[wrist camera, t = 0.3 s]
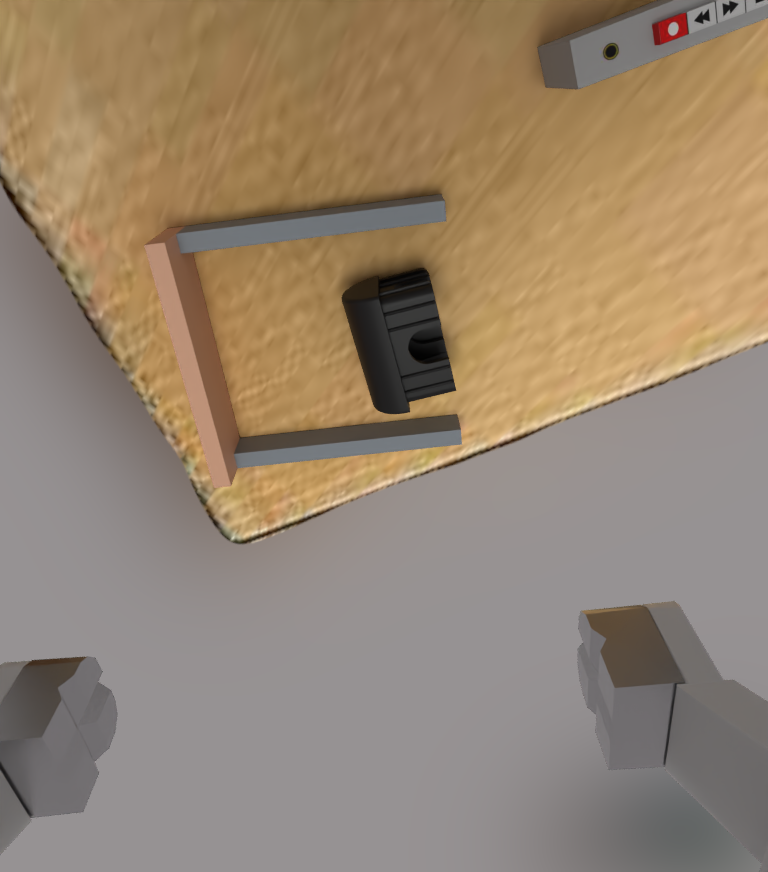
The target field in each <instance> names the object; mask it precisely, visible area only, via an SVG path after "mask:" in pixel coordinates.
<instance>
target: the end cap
mask: <svg viewBox="0 0 768 872" xmlns="http://www.w3.org/2000/svg"><path fill="white" fill-rule="evenodd" d="M342 302H343V306H344V309H345V312H346V316H347V319H348V322H349V326H350V329H351V332H352V335H353V339H354V342H355V345H356V349H357V352H358V355H359V359H360V362H361V365H362V369H363V372H364V375H365V379H366V382H367V385H368V389H369V392H370V395H371V398H372V402H373V405H374V407H375V408H376V409H377V410H378V411H380V412H383V413H387V414H402V413H408V412H410V407H409V402H411V401H415V400H419V399H423V398H427V397H431V396H435V395H440V394H444V393H448V392H452V391H456V388H455V384H454V379H453V375H452V371H451V366H450V362H449V358H448V355H447V351H446V347H445V342H444V338H443V334H442V330H441V326H440V325H441V323H440V319H439V314H438V310H437V306H436V301H435V297H434V293H433V289H432V284H431V281H430V277H429V273H428V272H427V270H425V269H424V268H420V269H416V270H412V271H408V272H405V273H401V274H397V275H393V276H389V277H386V278H382V279H379V277H378V276H377V277H373V278H370V279H367V280H365V281H362V282H360V283H358V284H356V285H354V286H352V287H350V288H349V289H348V290H346V291H345V292H344V293H343V295H342Z"/></svg>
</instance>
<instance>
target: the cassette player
mask: <svg viewBox="0 0 768 872" xmlns="http://www.w3.org/2000/svg"><path fill="white" fill-rule="evenodd" d="M766 18H768V0H657V1H654V2H652V3H649V4H647V5H644V6H642V7H639V8H636V9H634V10H631V11H629V12H626V13H624V14H621V15H618V16H616V17H613V18H611V19H608V20H606V21H603V22H601V23H598V24H595V25H593V26H590V27H588V28H585V29H583V30H580V31H577V32H575V33H572V34H570V35H567V36H565V37H562V38H560V39H557V40H554V41H552V42H549V43H547V44H544V45H542V46H539V47H538V52H539V57H540V62H541V67H542V72H543V77H544V82H545V87H546V88H564V89H580V88H583V87H586V86H588V85H591V84H594V83H596V82H599V81H602V80H604V79H607V78H610V77H612V76H615V75H618V74H620V73H623V72H626V71H628V70H631V69H634V68H636V67H639V66H641V65H644V64H647V63H649V62H652V61H655V60H657V59H660V58H663V57H665V56H668V55H671V54H673V53H676V52H679V51H681V50H684V49H687V48H689V47H692V46H695V45H697V44H700V43H703V42H705V41H708V40H711V39H713V38H716V37H718V36H721V35H724V34H726V33H729V32H732V31H734V30H737V29H740V28H742V27H745V26H748V25H750V24H753V23H756V22H758V21H761V20H764V19H766Z"/></svg>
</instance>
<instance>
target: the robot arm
mask: <svg viewBox="0 0 768 872" xmlns="http://www.w3.org/2000/svg"><path fill="white" fill-rule="evenodd" d="M578 629H579V632H580V634H581V637H582V640H583V643H582V644H581V645H580V646H579V648H578V670H579V679H580V684H581V688H582V692H583V696H584V699H585V701H586V705H587V707H588V708H589V709H590V710H591V711H592V712H594V713H595V714H596V735H597V738H598V740H599V743H600V746H601V749H602V752H603V755H604V758H605V761H606V764H607V767H608V769H609V770H617V769H636V768H655V767H665V771H666V772H667V773H669V774H670V775H671V776H672V777H673V778H674V779H675V780H676V781H677V782H678V783H679V784H680V785H681V786H682V787H683V788H684V789H685V790H686V791H687V792H688V793H689V794H690V795H691V796H692V797H693V798H694V799H695V800H696V801H697V802H699V803H700V804H701V805H702V806H703V807H704V808H705V809H706V810H707V811H708V812H709V813H710V814H711V815H712V816H713V817H714V818H715V819H716V820H717V821H718V822H719V823H720V824H721V825H722V826H723V827H724V828H725V829H726V830H728V831H729V832H730V833H731V834H732V835H733V836H734V837H735V838H736V839H737V840H738V841H739V842H740V843H741V844H742V845H743V846H744V847H745V848H746V849H747V850H748V851H749V852H750V853H751V854H752V855H753V856H754V857H755V858H756V859H758V861H760V862H761V863H762V864H761V868H760V871H759V872H768V702H767V701H766V700H764V699H763V698H761V697H760V696H758V695H757V694H755V693H753V692H752V691H750V690H749V689H747V688H746V687H744V686H742V685H741V684H739V683H738V682H736V681H735V680H723V678H722V676H721V675H720V673H719V671H718V670H717V668H716V666H715V665H714V663H713V661H712V659H711V658H710V656H709V654H708V653H707V651H706V649H705V648H704V646H703V644H702V643H701V641H700V639H699V637H698V636H697V634H696V632H695V631H694V629H693V627H692V625H691V624H690V622H689V620H688V619H687V617H686V615H685V614H684V612H683V610H682V608H681V607H680V605H679V604H677V603H676V602H674V601H672V602H662V603H652V604H643V605H633V606H624V607H614V608H604V609H594V610H584V611H581V612H580V615H579V626H578ZM102 672H103V671H102V670H101V668H100V666H99V664H98V662H97V660H96V658H93V657H73V658H58V659H43V660H32V661H21V662H7V663H6V662H5V663H3V664H1V665H0V855H1V854H2V853H3V851H4V850H5V849H6V848H7V847H8V846H9V845H10V844H11V843H12V841H13V840H14V839H15V838H16V837H17V836H18V835H19V834H20V833H21V832H22V831H23V830H24V829H25V827H26V826H27V825H28V824H29V823H30V822H31V818H34V817H42V816H52V815H61V814H70V813H79V812H83V811H84V809H85V806H86V804H87V801H88V799H89V797H90V794H91V791H92V789H93V787H94V784H95V782H96V779H97V777H98V775H99V771H98V769H97V766H96V763H95V761H96V760H97V759H98V758H99V757H100V756H101V755H102V754H103V753H104V752H105V751H106V750H108V749H109V747H110V744H111V742H112V739H113V736H114V734H115V730H116V721H117V708H116V702H115V699H114V696H113V694H112V691H111V690H110V689H108V688H107V687H105V686H104V685H102V684H101V683H99V682H98V681H99V678H100V676H101V674H102Z"/></svg>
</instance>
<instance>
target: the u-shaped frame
mask: <svg viewBox="0 0 768 872" xmlns="http://www.w3.org/2000/svg"><path fill="white" fill-rule="evenodd" d="M443 221H446V211H445V200H444V198H443V196H442V195H441V194H439V195H431V196H423V197H415V198H407V199H399V200H391V201H383V202H375V203H367V204H359V205H351V206H343V207H335V208H327V209H319V210H311V211H303V212H295V213H287V214H279V215H271V216H263V217H255V218H247V219H239V220H231V221H223V222H215V223H207V224H199V225H191V226H183V227H175V228H167V229H166V230H165V231H163V232H162V233H160V234H159V235H158V236H156V237H155V238H153V239H152V240H151V241H149V242H148V243H147V244H145V245H144V246H145V250H146V253H147V257H148V260H149V264H150V267H151V270H152V274H153V277H154V281H155V284H156V288H157V291H158V295H159V298H160V302H161V305H162V309H163V312H164V316H165V319H166V323H167V326H168V329H169V333H170V336H171V340H172V343H173V347H174V350H175V354H176V357H177V361H178V364H179V368H180V371H181V375H182V378H183V381H184V385H185V388H186V392H187V395H188V399H189V402H190V406H191V409H192V413H193V416H194V420H195V423H196V427H197V430H198V434H199V437H200V440H201V444H202V447H203V451H204V454H205V458H206V461H207V465H208V468H209V472H210V475H211V479H212V482H213V486H214V488H217V487H227V486H231V485H232V482H233V479H234V476H235V474H236V471H237V468H243V467H253V466H262V465H272V464H281V463H290V462H300V461H309V460H319V459H328V458H337V457H347V456H356V455H366V454H375V453H384V452H394V451H403V450H413V449H422V448H432V447H441V446H450V445H460V444H462V441H461V429H460V424H459V420H458V416H457V414H456V415H447V416H438V417H429V418H420V419H410V420H401V421H392V422H383V423H373V424H364V425H355V426H346V427H337V428H327V429H318V430H309V431H300V432H291V433H281V434H272V435H263V436H254V437H244V438H240V437H239V433H238V429H237V425H236V421H235V417H234V413H233V409H232V405H231V401H230V397H229V393H228V390H227V386H226V382H225V378H224V374H223V370H222V366H221V362H220V358H219V354H218V350H217V346H216V342H215V338H214V335H213V331H212V327H211V323H210V319H209V315H208V311H207V307H206V303H205V299H204V295H203V291H202V287H201V284H200V280H199V276H198V272H197V268H196V264H195V260H194V256H193V252H199V251H207V250H216V249H224V248H232V247H240V246H248V245H256V244H264V243H273V242H281V241H289V240H297V239H305V238H313V237H321V236H329V235H338V234H346V233H354V232H362V231H370V230H378V229H386V228H395V227H403V226H411V225H419V224H427V223H435V222H443Z"/></svg>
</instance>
